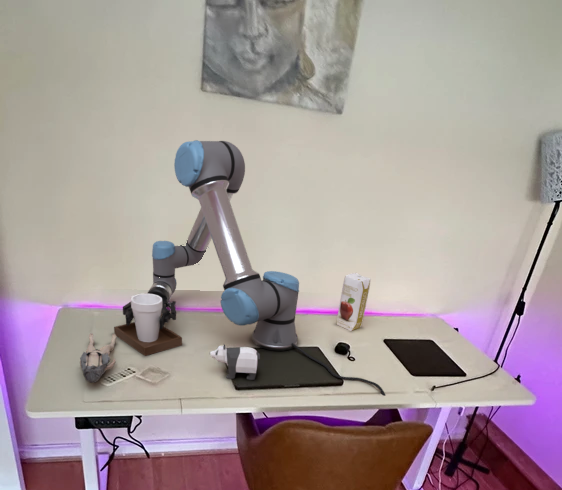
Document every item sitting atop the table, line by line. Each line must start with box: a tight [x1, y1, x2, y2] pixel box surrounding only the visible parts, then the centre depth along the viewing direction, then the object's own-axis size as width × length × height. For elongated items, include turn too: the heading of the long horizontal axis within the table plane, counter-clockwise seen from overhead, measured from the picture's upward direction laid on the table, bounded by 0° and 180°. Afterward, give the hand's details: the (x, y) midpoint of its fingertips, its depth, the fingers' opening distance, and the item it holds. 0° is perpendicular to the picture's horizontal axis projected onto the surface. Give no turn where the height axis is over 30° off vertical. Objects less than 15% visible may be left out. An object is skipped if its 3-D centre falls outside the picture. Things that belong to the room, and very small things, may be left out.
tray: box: [113, 321, 183, 357], centre depth 165 cm, size 18×14×3 cm
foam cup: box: [130, 292, 162, 342], centre depth 162 cm, size 10×9×13 cm
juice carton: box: [336, 272, 372, 332], centre depth 188 cm, size 8×9×19 cm
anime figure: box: [79, 333, 118, 383], centre depth 148 cm, size 10×7×30 cm
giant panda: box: [209, 343, 261, 381], centre depth 151 cm, size 15×6×10 cm, turn 93°
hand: (144, 323), depth 158 cm, fingers closed on foam cup, 9 cm apart
